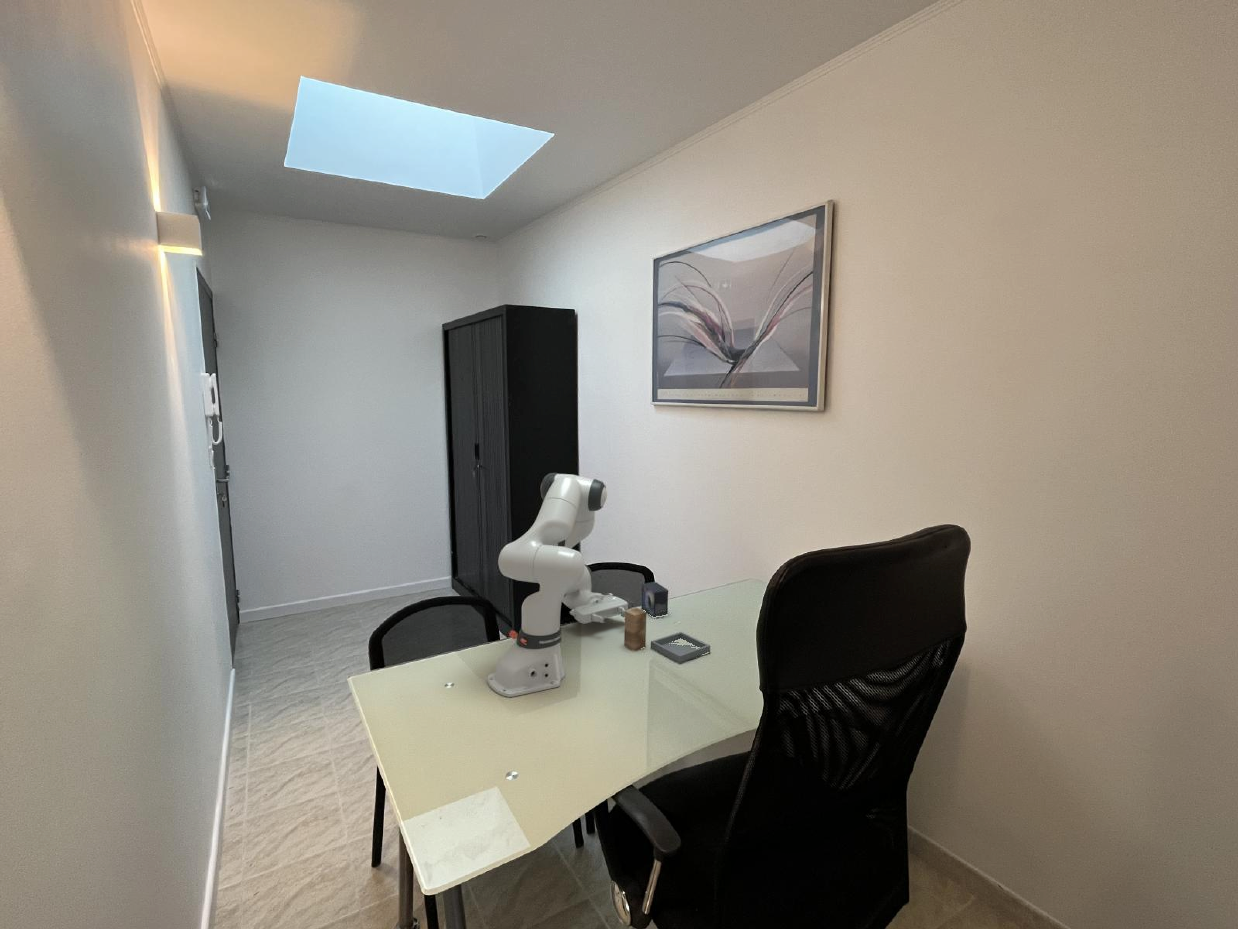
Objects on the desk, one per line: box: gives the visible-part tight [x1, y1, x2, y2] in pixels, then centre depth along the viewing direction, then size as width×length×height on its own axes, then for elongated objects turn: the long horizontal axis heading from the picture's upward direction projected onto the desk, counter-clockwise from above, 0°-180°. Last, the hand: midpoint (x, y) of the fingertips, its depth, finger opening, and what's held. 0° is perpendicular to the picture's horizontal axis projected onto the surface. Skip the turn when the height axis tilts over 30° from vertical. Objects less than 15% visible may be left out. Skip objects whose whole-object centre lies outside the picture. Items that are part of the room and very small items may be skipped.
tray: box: [650, 631, 711, 665], centre depth 193 cm, size 14×14×2 cm
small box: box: [640, 581, 669, 617], centre depth 225 cm, size 11×6×10 cm, turn 25°
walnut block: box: [623, 607, 648, 652], centre depth 195 cm, size 5×5×12 cm
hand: (614, 617), depth 203 cm, fingers open, 8 cm apart
